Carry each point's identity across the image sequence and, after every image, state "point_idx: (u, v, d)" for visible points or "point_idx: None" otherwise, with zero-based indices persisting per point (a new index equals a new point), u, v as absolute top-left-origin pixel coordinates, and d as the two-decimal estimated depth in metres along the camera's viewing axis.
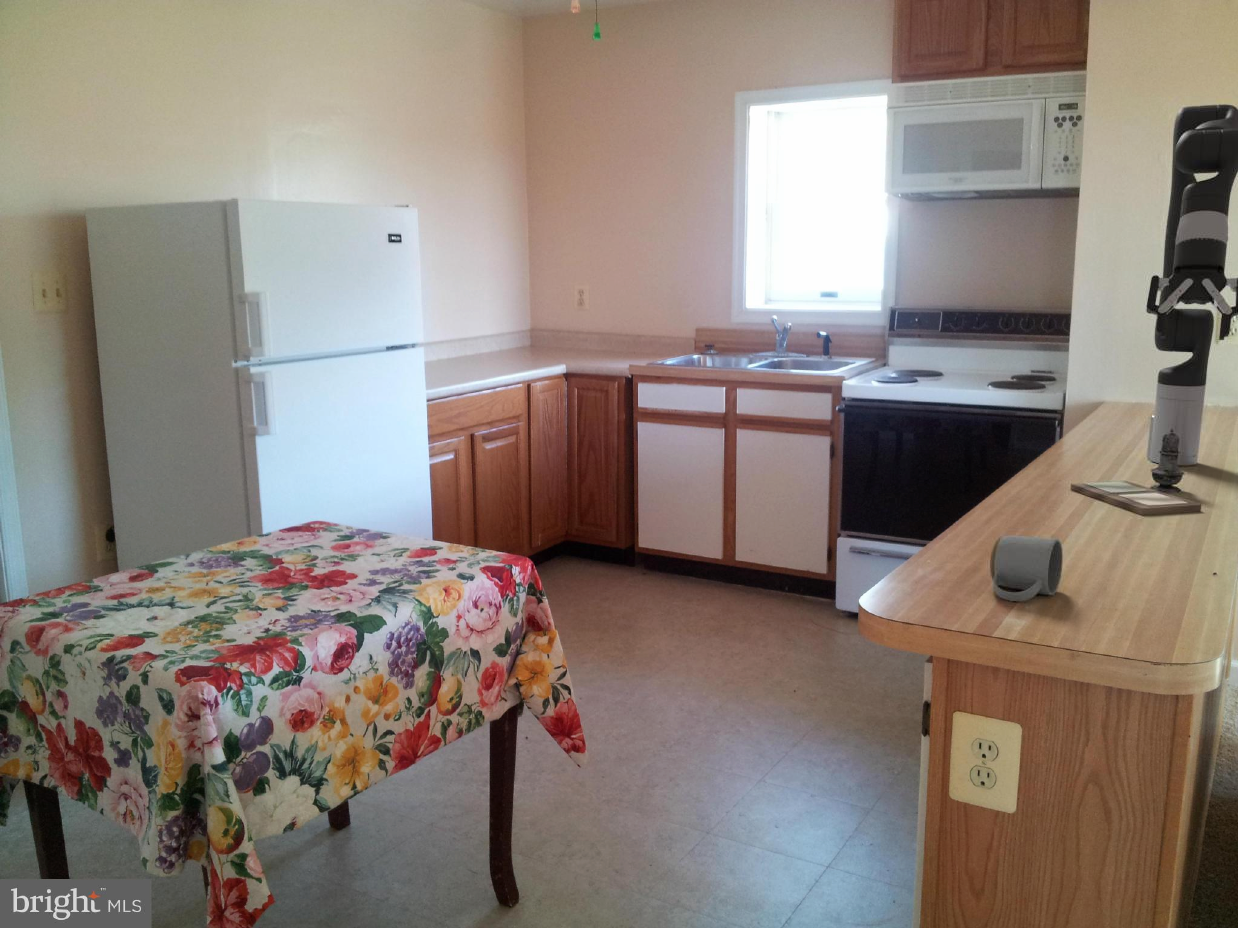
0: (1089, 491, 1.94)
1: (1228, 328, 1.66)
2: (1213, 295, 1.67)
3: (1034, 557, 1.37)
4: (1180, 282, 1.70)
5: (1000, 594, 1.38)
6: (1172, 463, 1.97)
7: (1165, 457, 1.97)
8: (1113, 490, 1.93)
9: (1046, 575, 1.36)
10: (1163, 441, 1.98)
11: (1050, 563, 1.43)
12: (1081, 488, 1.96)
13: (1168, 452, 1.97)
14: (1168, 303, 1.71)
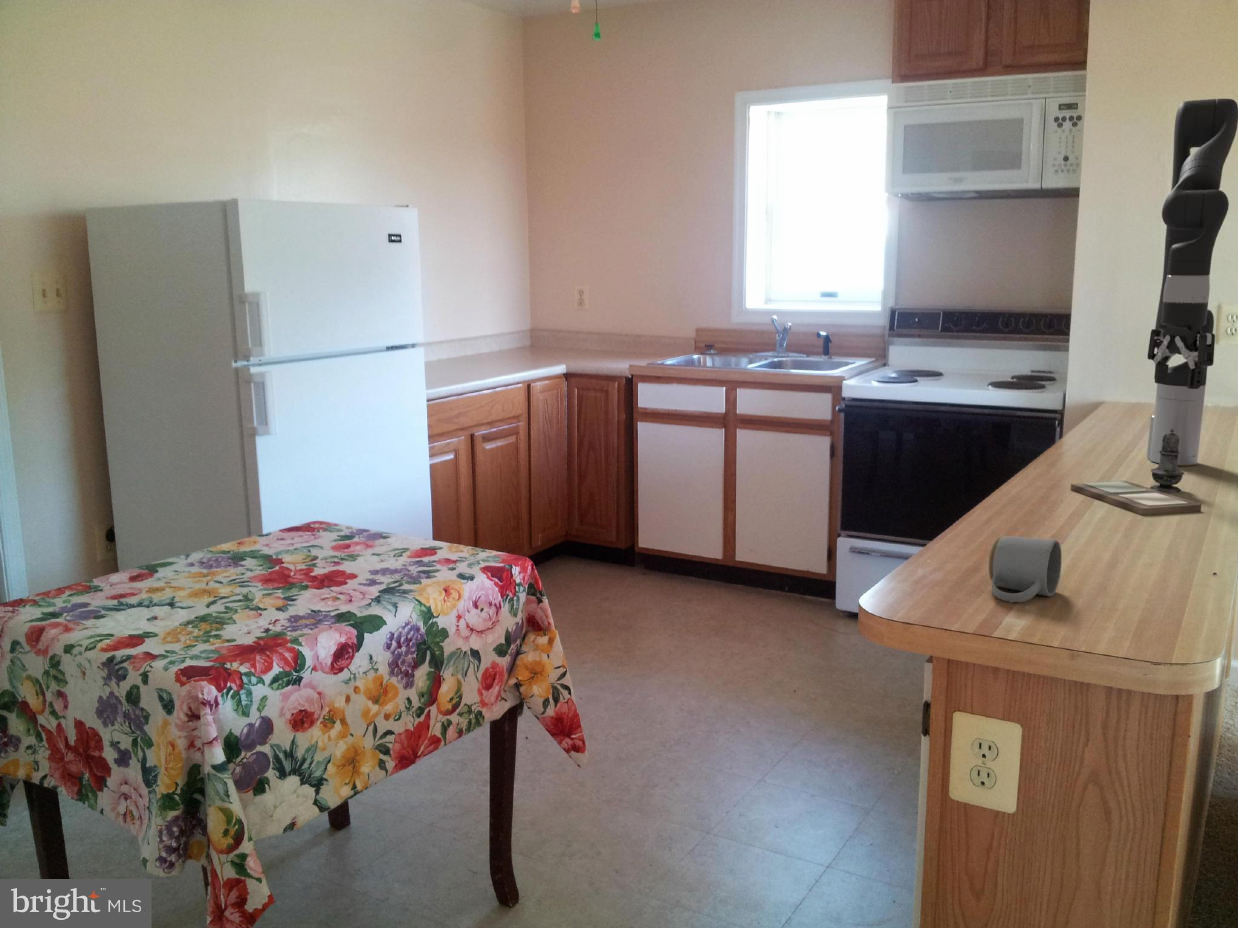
0: (1089, 491, 1.94)
1: (1194, 380, 1.90)
2: (1182, 351, 1.91)
3: (1033, 558, 1.37)
4: None
5: (998, 596, 1.38)
6: (1172, 463, 1.97)
7: (1165, 457, 1.97)
8: (1113, 490, 1.93)
9: (1045, 576, 1.36)
10: (1163, 441, 1.98)
11: (1049, 564, 1.42)
12: (1081, 488, 1.96)
13: (1168, 452, 1.97)
14: (1159, 355, 1.98)
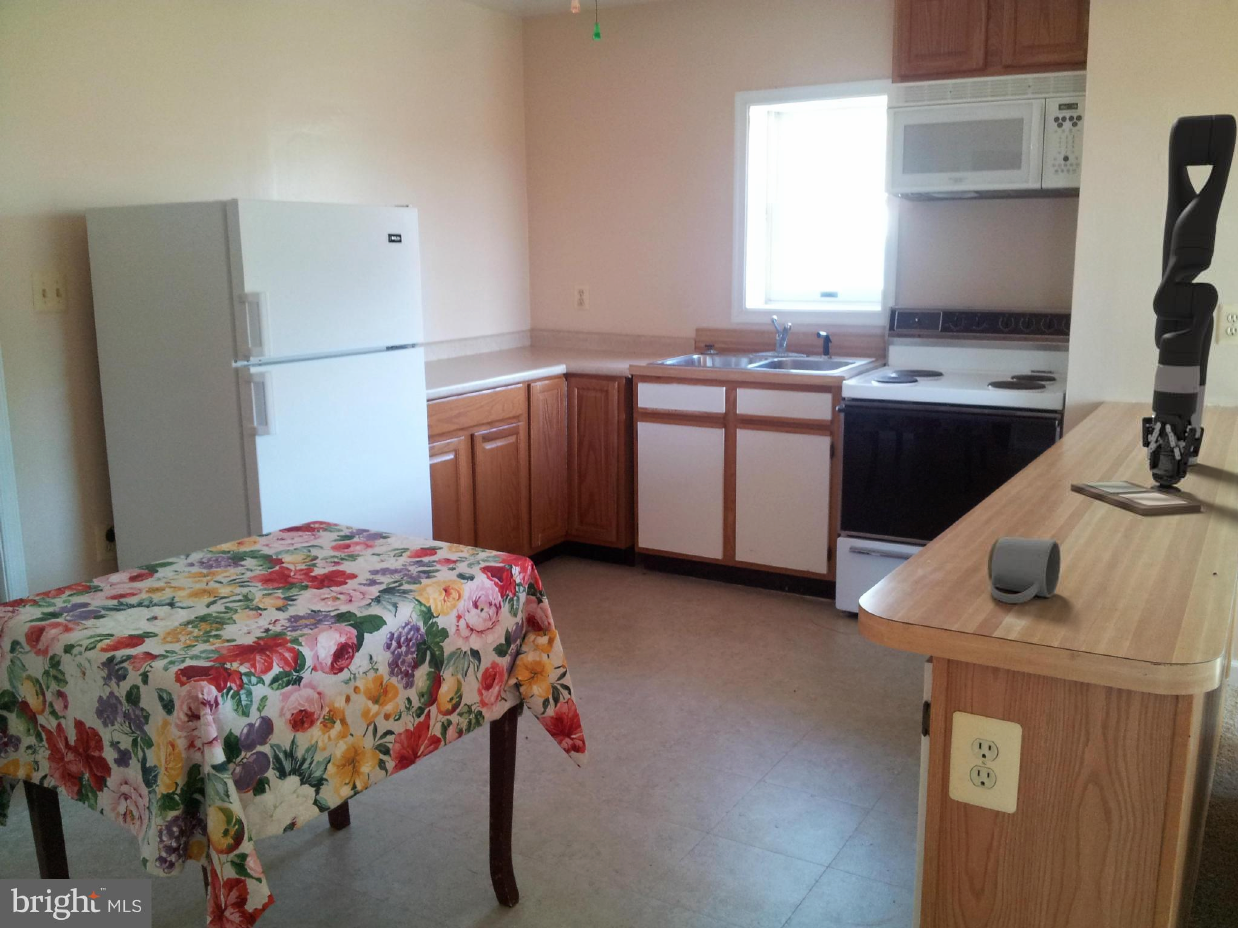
0: (1089, 491, 1.94)
1: (1179, 471, 1.95)
2: (1170, 440, 1.95)
3: (1032, 558, 1.37)
4: (1158, 422, 1.99)
5: (997, 596, 1.37)
6: (1172, 463, 1.97)
7: (1165, 457, 1.97)
8: (1113, 490, 1.93)
9: (1044, 576, 1.36)
10: (1163, 441, 1.98)
11: (1048, 565, 1.42)
12: (1081, 488, 1.96)
13: (1168, 452, 1.97)
14: (1153, 443, 2.00)
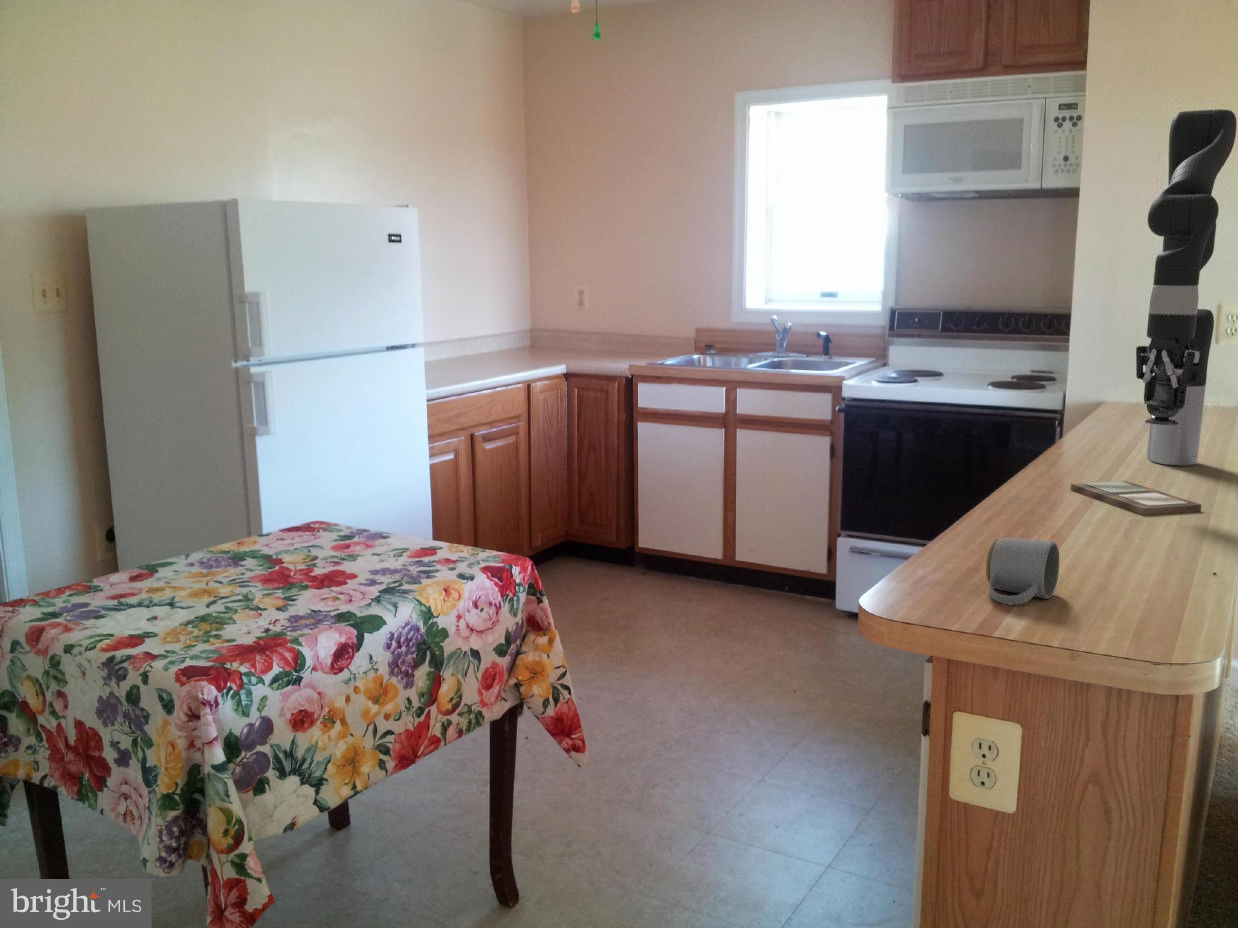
0: (1089, 491, 1.94)
1: (1177, 400, 1.79)
2: (1166, 367, 1.80)
3: (1030, 560, 1.36)
4: None
5: (995, 598, 1.37)
6: (1169, 393, 1.82)
7: (1161, 387, 1.82)
8: (1113, 490, 1.93)
9: (1042, 578, 1.35)
10: (1158, 370, 1.82)
11: (1047, 566, 1.41)
12: (1081, 488, 1.96)
13: (1164, 381, 1.81)
14: (1148, 373, 1.85)
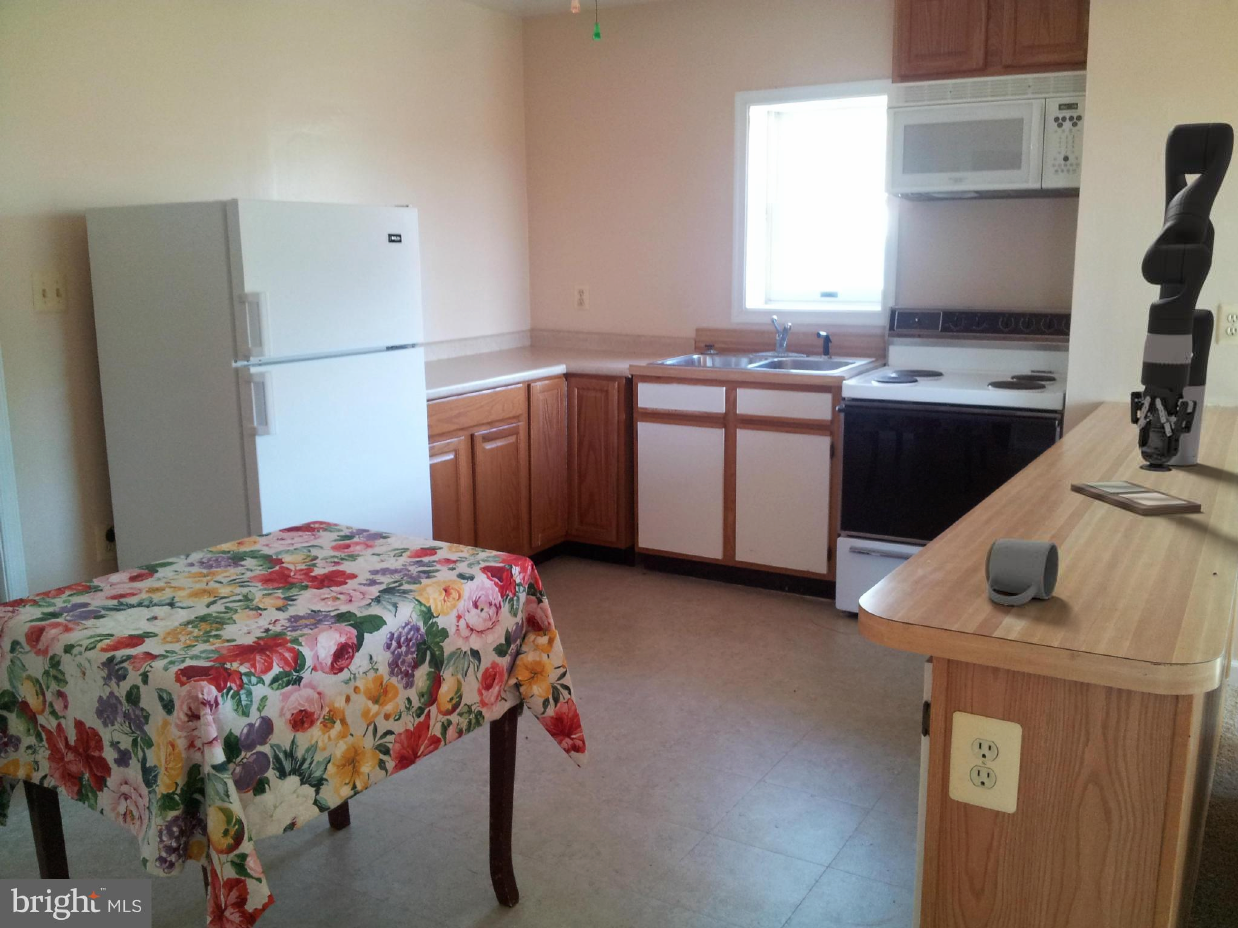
0: (1089, 491, 1.94)
1: (1170, 448, 1.80)
2: (1160, 415, 1.81)
3: (1029, 560, 1.36)
4: None
5: (994, 599, 1.36)
6: (1163, 440, 1.83)
7: (1155, 434, 1.83)
8: (1113, 490, 1.93)
9: (1042, 579, 1.35)
10: (1152, 417, 1.83)
11: (1046, 567, 1.41)
12: (1081, 488, 1.96)
13: (1158, 428, 1.82)
14: (1142, 419, 1.86)
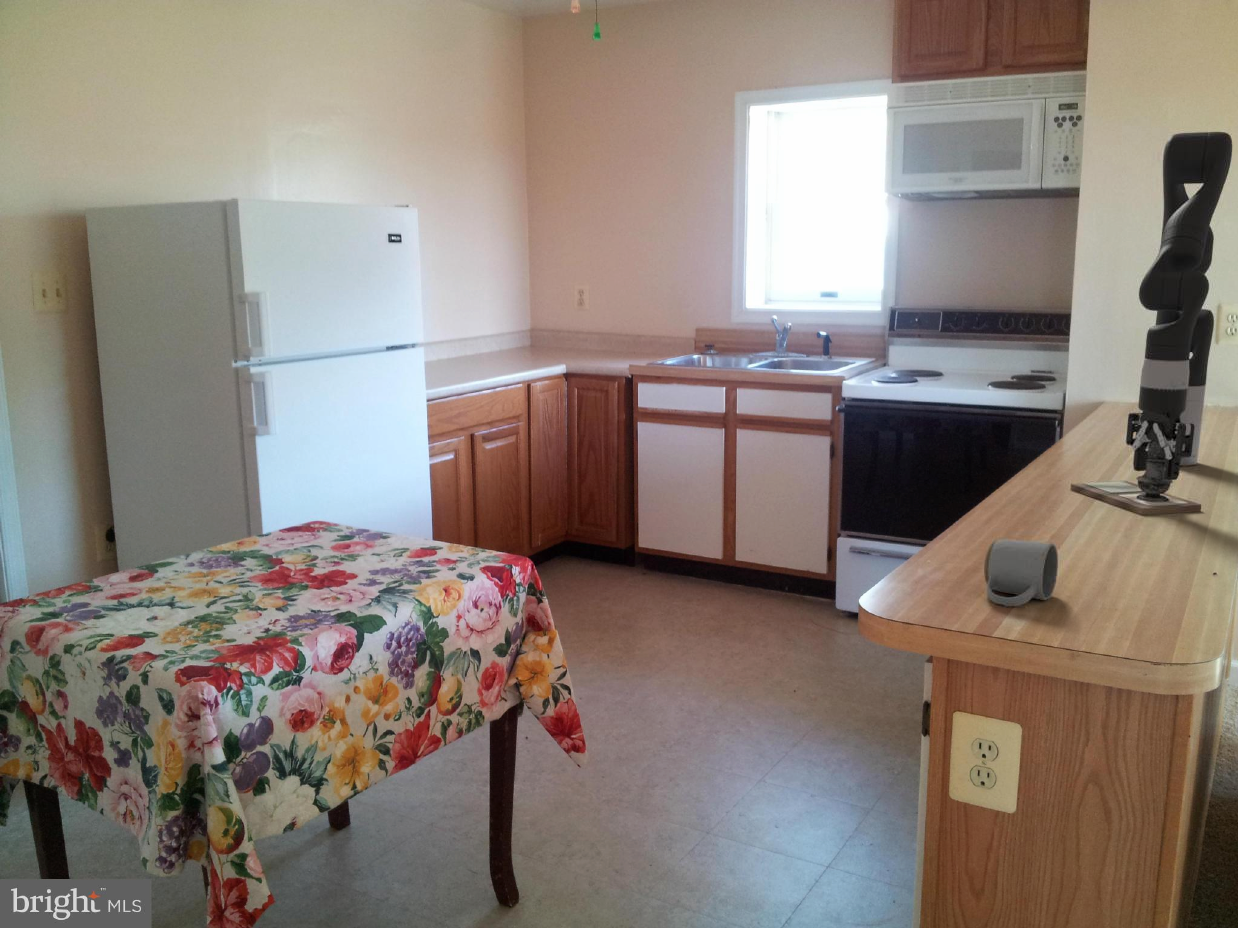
0: (1089, 491, 1.94)
1: (1171, 471, 1.80)
2: (1159, 439, 1.81)
3: (1028, 561, 1.36)
4: (1145, 421, 1.86)
5: (993, 599, 1.36)
6: (1160, 470, 1.84)
7: (1152, 464, 1.84)
8: (1113, 490, 1.93)
9: (1041, 579, 1.34)
10: (1149, 447, 1.85)
11: (1045, 567, 1.41)
12: (1081, 488, 1.96)
13: (1155, 459, 1.84)
14: (1137, 441, 1.88)
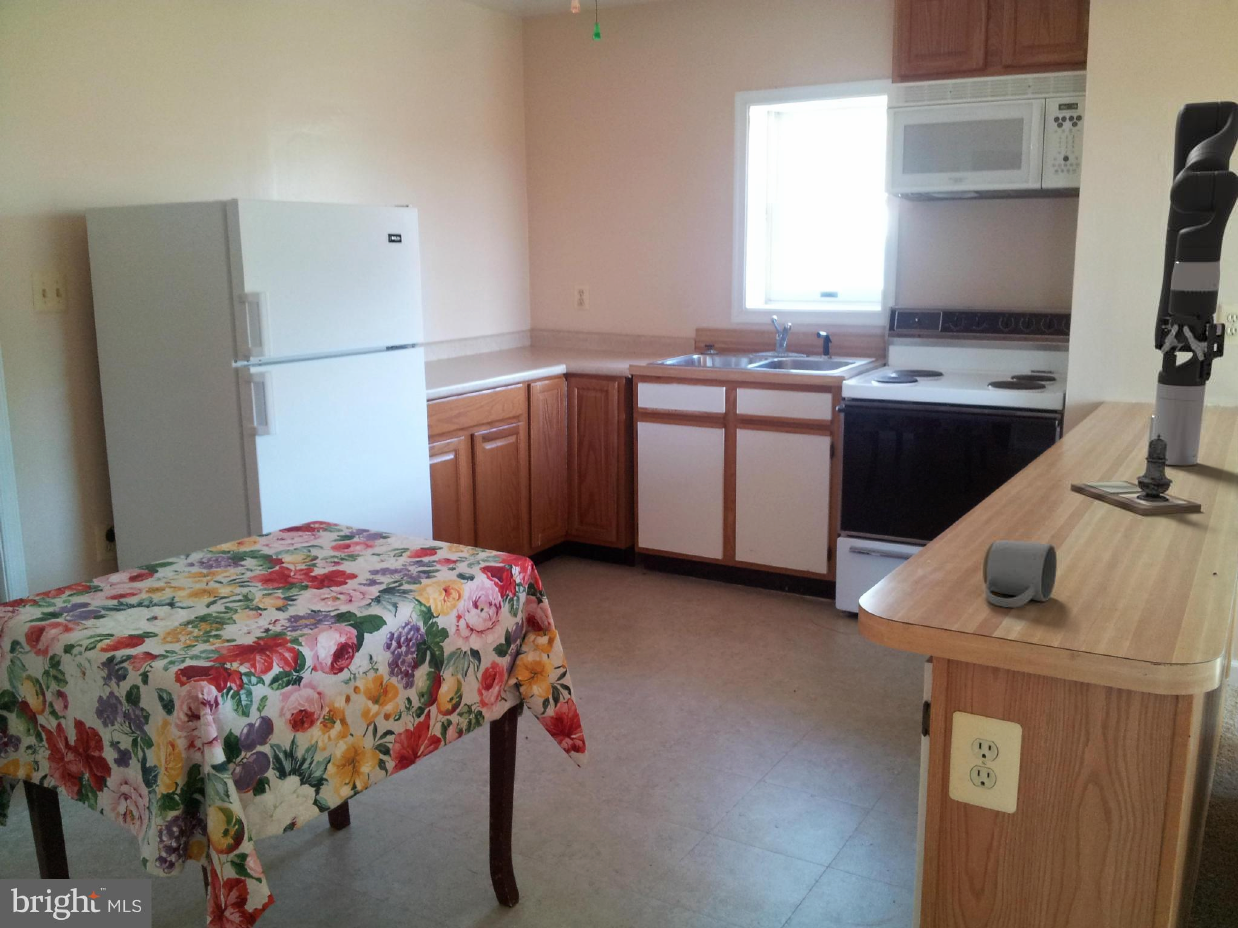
0: (1089, 491, 1.94)
1: (1203, 372, 1.81)
2: (1190, 342, 1.82)
3: (1027, 562, 1.35)
4: None
5: (992, 600, 1.36)
6: (1160, 470, 1.84)
7: (1152, 464, 1.84)
8: (1113, 490, 1.93)
9: (1039, 580, 1.34)
10: (1149, 447, 1.85)
11: (1044, 568, 1.40)
12: (1081, 488, 1.96)
13: (1155, 459, 1.84)
14: (1166, 345, 1.89)
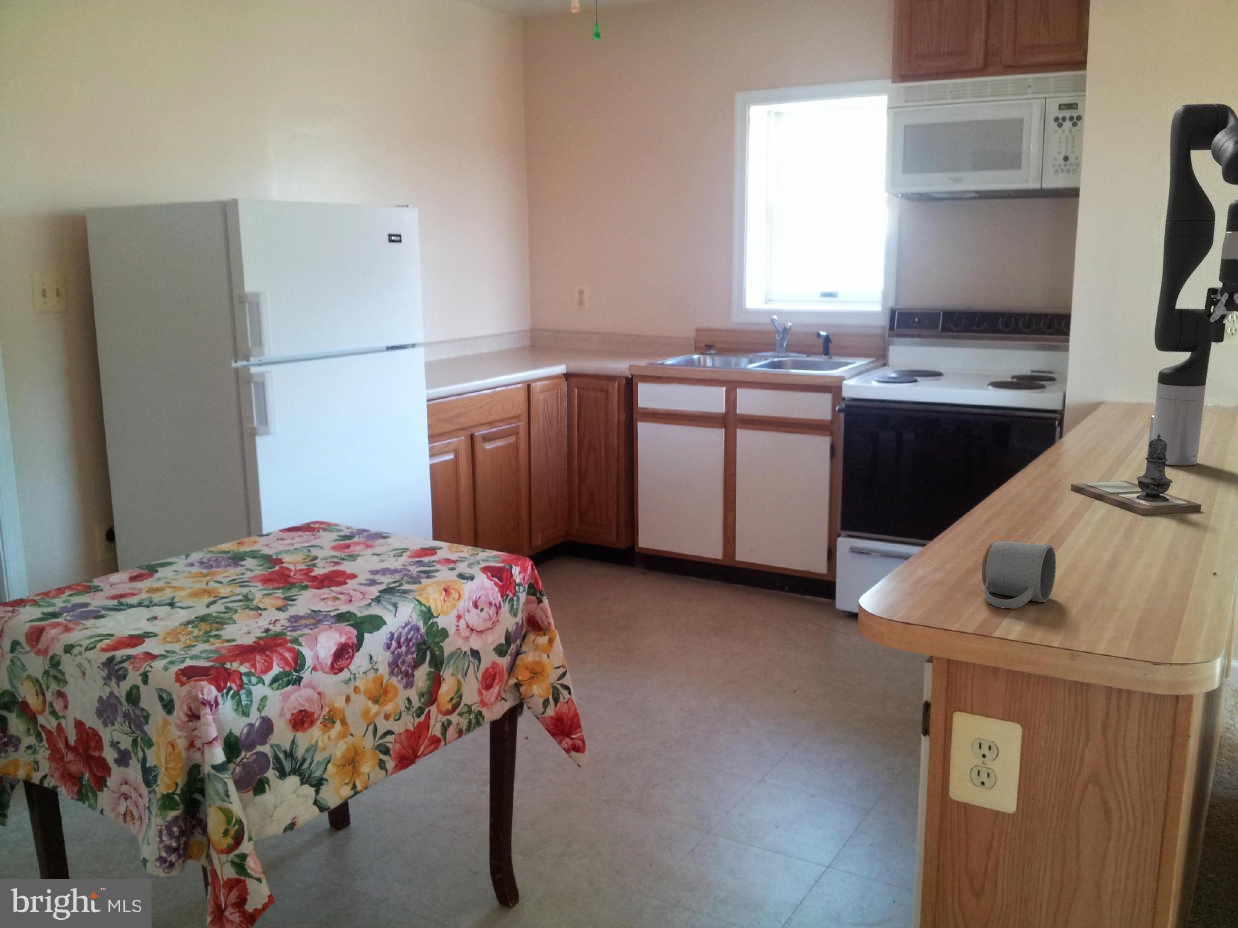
0: (1089, 491, 1.94)
1: None
2: None
3: (1026, 563, 1.35)
4: None
5: (991, 602, 1.35)
6: (1160, 470, 1.84)
7: (1152, 464, 1.84)
8: (1113, 490, 1.93)
9: (1038, 582, 1.34)
10: (1149, 447, 1.85)
11: (1043, 569, 1.40)
12: (1081, 488, 1.96)
13: (1155, 459, 1.84)
14: (1216, 313, 1.96)
